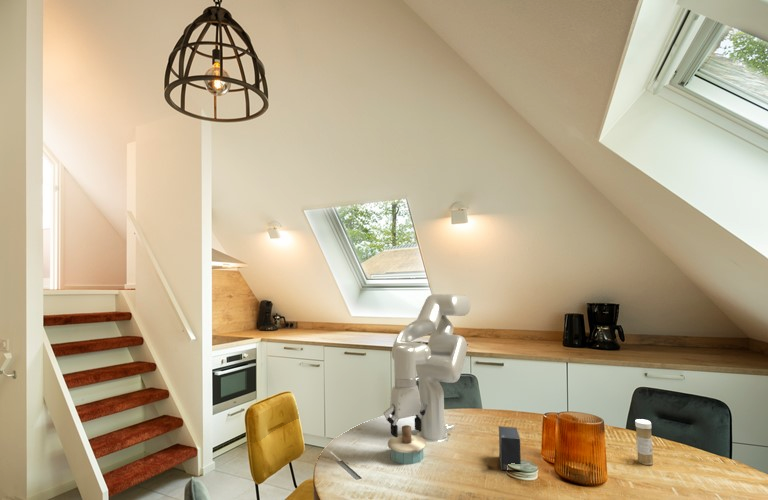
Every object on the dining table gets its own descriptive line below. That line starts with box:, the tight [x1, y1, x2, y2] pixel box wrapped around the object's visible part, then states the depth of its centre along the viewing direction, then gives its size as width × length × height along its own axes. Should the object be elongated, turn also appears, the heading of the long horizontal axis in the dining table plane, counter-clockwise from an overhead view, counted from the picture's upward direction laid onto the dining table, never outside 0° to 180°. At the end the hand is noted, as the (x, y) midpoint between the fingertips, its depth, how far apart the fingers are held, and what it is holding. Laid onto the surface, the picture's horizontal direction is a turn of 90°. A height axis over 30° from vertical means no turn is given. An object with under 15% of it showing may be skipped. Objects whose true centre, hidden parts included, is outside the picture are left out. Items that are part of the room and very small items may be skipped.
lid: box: [387, 424, 427, 453], centre depth 144 cm, size 13×13×6 cm
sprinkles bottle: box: [634, 418, 654, 466], centre depth 138 cm, size 5×5×13 cm
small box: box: [498, 425, 522, 471], centre depth 139 cm, size 11×6×10 cm, turn 168°
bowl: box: [390, 449, 424, 465], centre depth 143 cm, size 11×11×5 cm
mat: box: [336, 459, 362, 481], centre depth 139 cm, size 15×15×1 cm
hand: (406, 433), depth 144 cm, fingers open, 9 cm apart
